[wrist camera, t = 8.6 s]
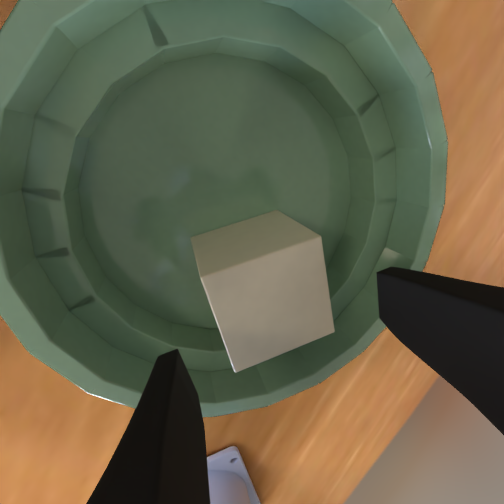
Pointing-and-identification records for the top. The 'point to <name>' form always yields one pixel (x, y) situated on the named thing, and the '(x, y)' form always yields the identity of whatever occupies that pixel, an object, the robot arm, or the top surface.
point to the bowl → (205, 176)
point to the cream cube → (265, 286)
